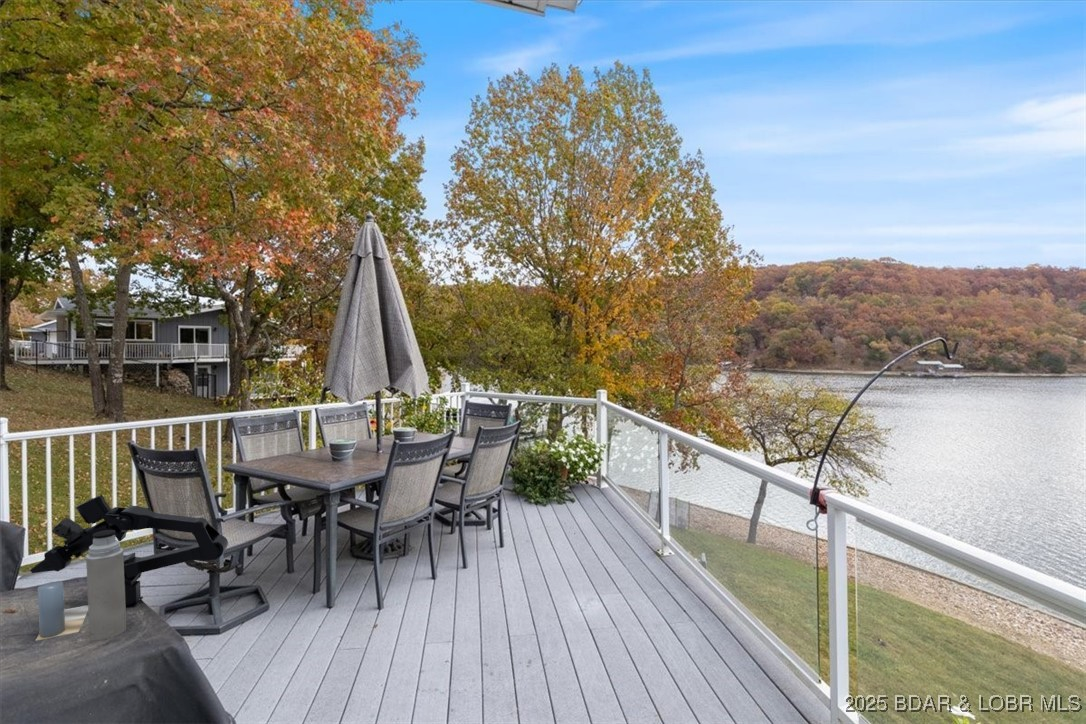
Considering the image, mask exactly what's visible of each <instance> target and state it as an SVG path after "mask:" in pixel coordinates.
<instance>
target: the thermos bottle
mask: <svg viewBox="0 0 1086 724" xmlns="http://www.w3.org/2000/svg"><path fill="white" fill-rule="evenodd" d="M115 534H116V531H115V530H104V531H100V532H96V533H94V534H93V544H92V545H91V546H90V547H89V551H87V552H88V554H86V555H85V560H86V561H85V563H86V585H87V586H86V587H87V590H86V591H87V605H88V613H87V615H88V631H89V632H88V633H89V639H90V640H91V641H104V640H108V639H112V638H115V637H117V636H119V635H122V634H123V633H124V632H125V631H126V630H127V612H126V611H127V610H126V609H127V608H126V606H125V581H124V557H123V555H124V549H123V548H122V547H121V541H118V539H117V538H116V537H115ZM116 539H117V540H116Z"/></svg>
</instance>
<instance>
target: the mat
mask: <svg viewBox="0 0 1086 724" xmlns="http://www.w3.org/2000/svg"><path fill="white" fill-rule="evenodd" d="M64 615H65V631H64V632H62V633H61V634H59V635H56V636H53V637H48V638H42V637H40V632H39V633H38V635H37V637H36V639H35V640H34V641H35V642H37V641H41V640H47V639H51V638H56V637H61V636H66V635H70V634H76V633H79V632H80V630H81V628H82V625H83V623H84V621H85V619H86V617H87V615H88V604H87V605H81V606H77V607H76V606H75V607H70V608H64Z"/></svg>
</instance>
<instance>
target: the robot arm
mask: <svg viewBox="0 0 1086 724" xmlns="http://www.w3.org/2000/svg"><path fill="white" fill-rule="evenodd" d="M74 508H75V510H76V511H77V512H78V514H79V516H80V517H81V518H82V520H84V522H85V524H88V525H90V524H92V525H93V526H90V527H89V526H87V527H85V528H83V527H82V526H81V525H80V524H79V523H77V522H75V521H74V520H72V519H71V518H69V517H65V518H64V519H62V520H61V521H60V522H59V523H57V525H55V526H54V527H53V528H52V529H51V532H52V533H53V534H55V535H56V536H58V537H59V538H63V539H65V540H64V541H63V543H64V544H63V546H62V545H57V546H54V547H52V548H50V549H48V550H47V551H46V552H45V553H44V555H43V556H44V559H43V560H41V561H40V562H39V563H37V564H36V565H35V566H34V567H32V568H31V569H30V570H29V571H30V572H31V574H37V573H44V572H45V573H46V572H52V571H53V572H60V571H62V570H64V569H66V568H67V567H68V566H69V565H70V564H71V563H72V560H73V558H72V557H73V556H74V557H75V558H80V557H81V556H83V554H85V553H87V552H88V551H89V547H90V546H91V545H92V544H93V534H94V533H96V532H100V531H104V530H115V531H116V534H115V538H116V539H117V541H119V542H122V541H123V540H124V539H125V538H126V536H127V532H128V531H140V530H145V529H153V530H154V529H155V530H165V531H171V532H172V531H173V532H179V533H180V532H181V533H191V534H192V535H193V536H194V539H195V541H196V543H195V544H193V545H188V546H185V547H180V548H177V549H172V550H167V551H163V552H159V553H155V554H151V555H148V556H136V552H132V553H129V554H125V555H124V554H123V557H124V581H125V606H126V609H129V608H135V607H136V606H137V605H138V604H139V603H140V602H141V601H142V600H143V598H144V596H142V593H141V581H140V580H139V579H140V578H141V576H142V573H145V572H150V571H154V570H157V569H162V568H166V567H171V566H175V565H179V564H183V563H186V562H190V561H198V562H205V561H214V560H215V561H216V560H218V559H220V558H221V557H222V556H223V554H224V552H225V551H226V549H228V545H229V542H228V541H229V540H228V539H227V538H226V537H225V536H224V535H223V534H221V533H220V532H219V531H218V530H217V529H216V528H215V527H214V526H213V525H211V524H210V523H209V521H208V520H207V519H206V518H204V517H191V516H183V515H175V514H167V513H165V514H164V513H158V512H154V511H153V510H150V509H148V508H145V507H143V506H138V505H129V506H127V507H121V506H120V507H119V506H114V507H112V508H111V507H110V506H109V504H108V503H107V501H106V499H105V496H104V495H103V494H100V495H98V496H97V495H96V496H95V497H92V498H89V499H88V500H86V501H84V502H82V503H80V504H78V505H77V506H75V507H74ZM98 522H99V523H98ZM96 523H97V524H96ZM139 599H140V600H141V601H140V600H139Z"/></svg>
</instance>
